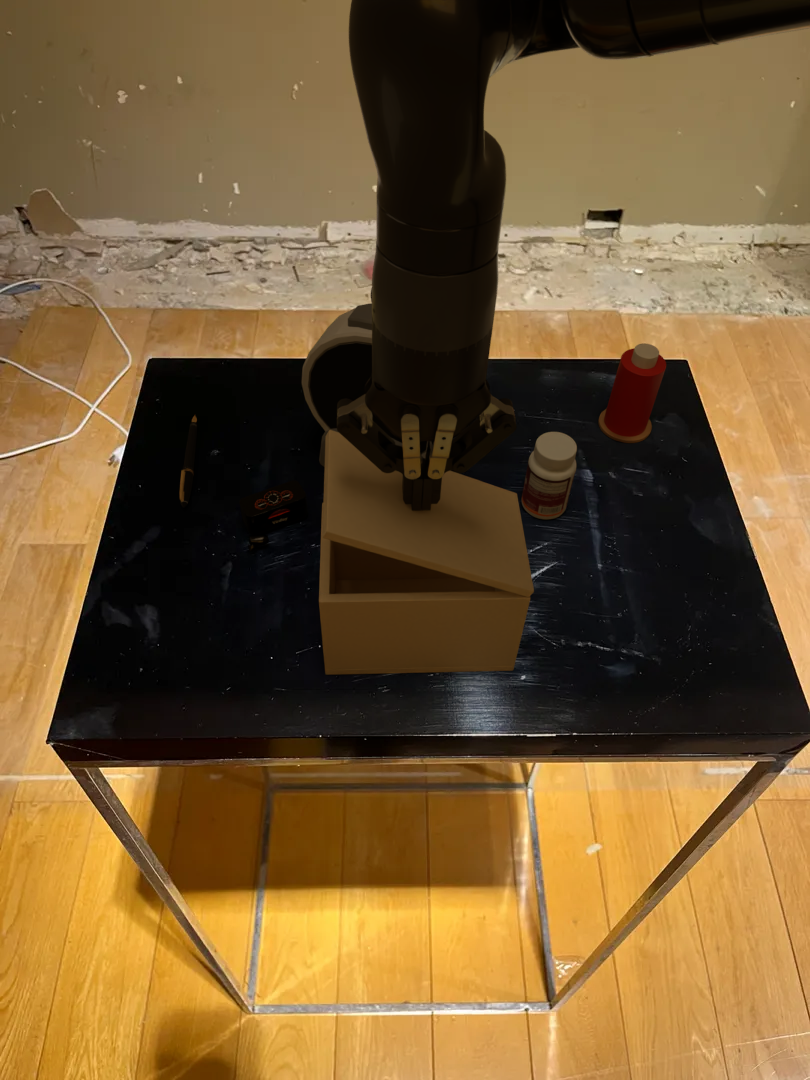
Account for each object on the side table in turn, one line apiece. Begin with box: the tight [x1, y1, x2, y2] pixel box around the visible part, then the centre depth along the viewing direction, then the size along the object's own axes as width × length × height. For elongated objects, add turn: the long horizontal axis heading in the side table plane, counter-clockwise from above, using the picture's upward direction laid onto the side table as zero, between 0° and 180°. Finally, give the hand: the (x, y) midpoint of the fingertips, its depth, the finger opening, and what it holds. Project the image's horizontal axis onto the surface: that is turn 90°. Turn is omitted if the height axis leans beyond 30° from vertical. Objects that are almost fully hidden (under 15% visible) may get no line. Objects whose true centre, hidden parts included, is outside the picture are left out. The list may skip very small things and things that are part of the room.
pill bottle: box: [521, 431, 578, 520], centre depth 83 cm, size 5×5×8 cm
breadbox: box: [318, 502, 532, 676], centre depth 72 cm, size 17×11×11 cm, turn 92°
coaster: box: [597, 408, 653, 444], centre depth 94 cm, size 6×6×1 cm
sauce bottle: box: [604, 342, 667, 437], centre depth 91 cm, size 5×5×10 cm
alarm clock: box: [301, 302, 427, 468], centre depth 83 cm, size 16×10×18 cm, turn 69°
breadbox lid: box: [322, 430, 535, 597], centre depth 65 cm, size 18×11×1 cm, turn 92°
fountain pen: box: [179, 414, 198, 509], centre depth 88 cm, size 14×1×2 cm, turn 5°
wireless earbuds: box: [238, 480, 308, 553], centre depth 82 cm, size 5×7×3 cm, turn 118°
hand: (420, 502), depth 64 cm, fingers closed
